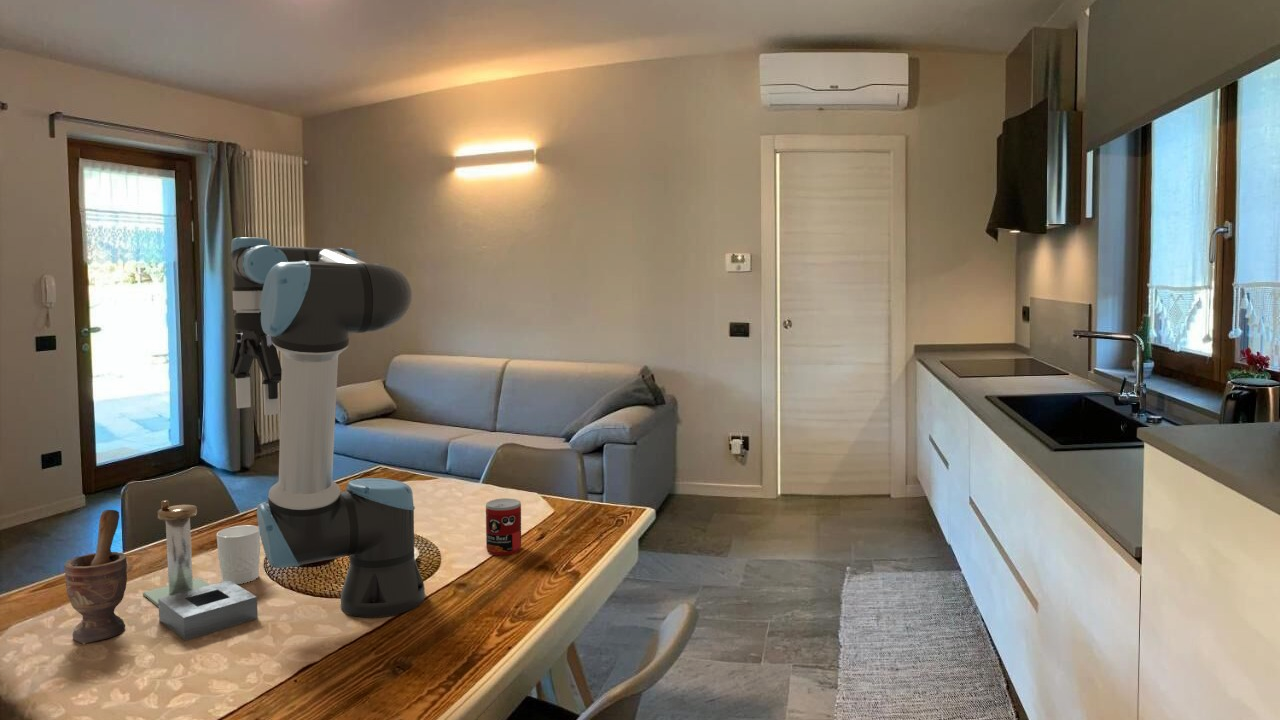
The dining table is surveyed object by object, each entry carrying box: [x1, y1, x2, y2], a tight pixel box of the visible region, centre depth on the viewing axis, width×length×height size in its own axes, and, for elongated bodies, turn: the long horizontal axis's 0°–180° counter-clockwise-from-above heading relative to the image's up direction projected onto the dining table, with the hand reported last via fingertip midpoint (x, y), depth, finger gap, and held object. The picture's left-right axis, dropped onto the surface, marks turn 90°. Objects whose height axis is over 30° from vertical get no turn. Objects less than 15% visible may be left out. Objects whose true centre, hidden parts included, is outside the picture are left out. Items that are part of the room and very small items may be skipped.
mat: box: [142, 577, 210, 608], centre depth 151 cm, size 10×10×1 cm
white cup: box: [215, 524, 261, 585], centre depth 159 cm, size 8×8×10 cm
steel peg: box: [157, 499, 198, 595], centre depth 150 cm, size 6×6×18 cm
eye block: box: [158, 580, 259, 642], centre depth 139 cm, size 12×12×4 cm
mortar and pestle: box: [64, 509, 128, 645], centre depth 134 cm, size 12×9×20 cm
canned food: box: [485, 498, 522, 556], centre depth 177 cm, size 8×8×11 cm
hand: (257, 411), depth 167 cm, fingers open, 13 cm apart
